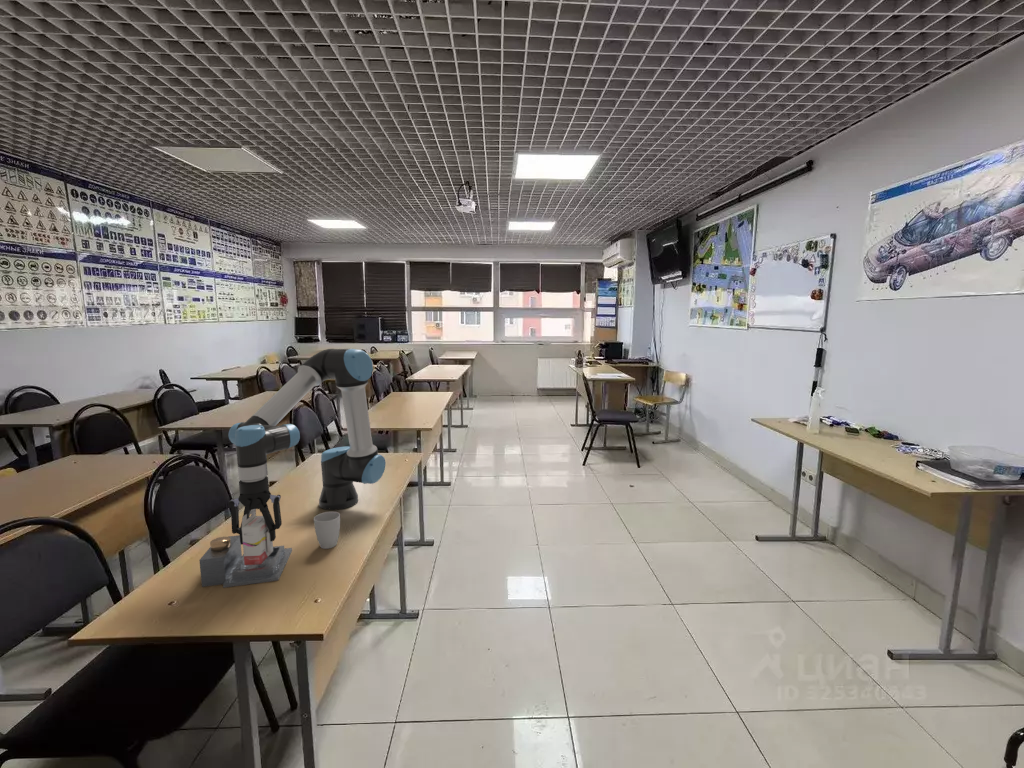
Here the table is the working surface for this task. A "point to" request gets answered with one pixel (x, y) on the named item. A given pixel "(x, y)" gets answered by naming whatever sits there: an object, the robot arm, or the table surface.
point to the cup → (327, 529)
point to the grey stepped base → (239, 564)
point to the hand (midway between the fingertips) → (259, 552)
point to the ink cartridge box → (254, 539)
